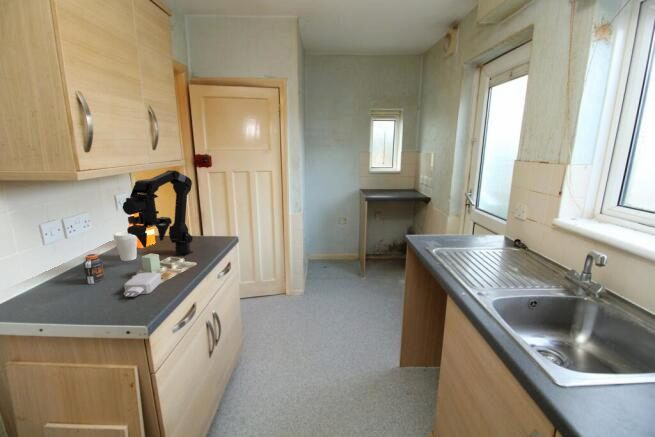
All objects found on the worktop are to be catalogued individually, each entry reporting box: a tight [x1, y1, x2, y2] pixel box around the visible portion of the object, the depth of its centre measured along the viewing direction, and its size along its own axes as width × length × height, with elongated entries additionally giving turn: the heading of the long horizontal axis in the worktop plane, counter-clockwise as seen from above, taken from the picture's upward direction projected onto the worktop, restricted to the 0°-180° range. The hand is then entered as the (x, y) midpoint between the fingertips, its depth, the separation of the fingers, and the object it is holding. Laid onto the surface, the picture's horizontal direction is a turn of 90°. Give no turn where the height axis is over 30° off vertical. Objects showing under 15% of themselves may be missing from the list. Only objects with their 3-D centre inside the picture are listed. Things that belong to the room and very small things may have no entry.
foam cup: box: [112, 230, 138, 262], centre depth 148 cm, size 10×9×13 cm
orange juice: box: [128, 213, 156, 249], centre depth 168 cm, size 8×9×20 cm
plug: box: [141, 253, 161, 273], centre depth 129 cm, size 4×4×8 cm
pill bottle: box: [82, 253, 105, 285], centre depth 123 cm, size 6×6×11 cm
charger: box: [123, 273, 162, 297], centre depth 115 cm, size 5×9×15 cm
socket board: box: [131, 256, 197, 284], centre depth 135 cm, size 21×15×3 cm
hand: (153, 243), depth 135 cm, fingers open, 9 cm apart
